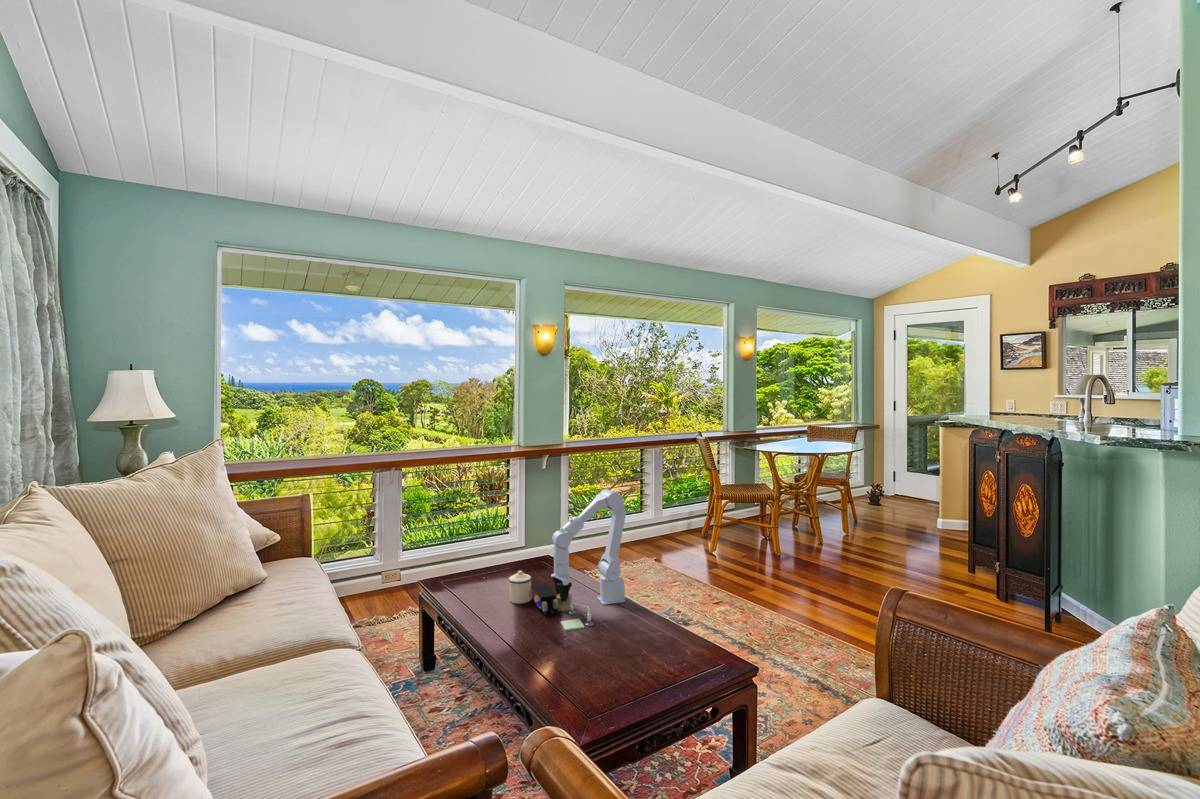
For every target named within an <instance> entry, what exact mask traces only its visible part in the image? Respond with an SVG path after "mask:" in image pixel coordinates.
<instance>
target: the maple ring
mask: <svg viewBox="0 0 1200 799" xmlns="http://www.w3.org/2000/svg"><path fill="white" fill-rule="evenodd" d="M572 598H573V597H572V594H571V593H570V592H569V593H568V598H567V601H563V602H562V601H561V598H560V594H558V595H557V594H556V599H557V600H558V604H559V607H558V609H556V610H557V611H559V612H568V611H569V610H570V602H572V601H573V600H572Z"/></svg>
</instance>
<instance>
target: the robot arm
mask: <svg viewBox="0 0 1200 799" xmlns="http://www.w3.org/2000/svg"><path fill="white" fill-rule="evenodd" d="M601 510H609V511H610V513H611V520H610V524H609V530H608V535H607V540H606V541H607V542H606V546H605V551H604V553H603V554H602V555H601V559H600V560H599V562H598V564H597V571H598V572H599V574H600V576H599V579H600V580H599V581H600V582H599V584H600V588H599V589H600V590H599V591H600V596H599V595H598V596H597V600H598V601H599V602H600V603H601V604H602V605H611V604H612V605H613V604H619V603H620V604H621V603H626V595H625V594H626V593H625V592H626V590H625V580H624V578H623V577H622V576H621V571H622V570H621V561H620V560H621V559H620V557H619V554H620V553H619V552H620V548H621V543H622V537H623V531H624V526H625V520H626V515H627V510H626V506H625V502H624V497H623V496H622V495H621V494H620V493H618V492H615V491H613V490H610V489H609V488H604V489H602V490H601V491H600V492H599V493H597V494H596V495H595V497H594V498H593V500H592V501H591V502H590V503H589V504H588V505H587V507H585V509H584V510H583V511H582V512H581V513H579V515H578V516H573V517H570V518H568V521H567V522H566V524H564V526H561V527H560V528H559V530H555V532H554V533H553V534H552V537H551V542H552V544H553V573H551V574H550V576H551V578H552V581H553V583H554V587H555V592H556V596H557V595H558V594H560V598H561V601H562V602H563V601H567V598H568V593H569V594H570V589H571V588H572V585H573V584H572V582H569V578H570V571H569V570H570V569H569V568H570V566H569V564H570V563H569V562H570V556H569V554H570V553H569V546H570V545H571V543H572V540H573V538H574V537H576V535H578V533H580V532H581V531H582V529H584V527H585V526H584V525H585V523H586V522H587V521H588V520H589V519H590V518H592V517H593V515H595V514H596V513H597V512H598V511H601Z"/></svg>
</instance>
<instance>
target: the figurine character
mask: <svg viewBox="0 0 1200 799" xmlns="http://www.w3.org/2000/svg"><path fill="white" fill-rule="evenodd" d="M531 590H533V592H535V595H534V597H533V600H534V603H535V604H536V607H538V608H539V609H540V611H542V612H543V614H544V615H545V616H547V615H548V614H547V612H550V613H551V614H554V613H555V611H554V610H557V609H558V607H559V604H558V600H557V599H556V596H557V594H555V593H554V592H553V590H552V589H551V588H550V587H549V585H547V584H543V585H542V584H541V585H536V586H535V585H534V586H531ZM553 609H554V610H553Z"/></svg>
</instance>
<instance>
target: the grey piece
mask: <svg viewBox="0 0 1200 799" xmlns="http://www.w3.org/2000/svg"><path fill="white" fill-rule="evenodd" d="M574 607H575V608H579V609H583V610H586V611H585V612H586V613H585V614H584V615H583V618H584V619H586V621H585V622H584V626H586V627H592V626H594V625H595V622H594V621H592V618H593V614H592V613H591V606H590V605H584V604H579V603H574V602H570V610H569V611H566V613H567V614H568V615H571V616H573V615H575V614H576V610H574Z"/></svg>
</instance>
